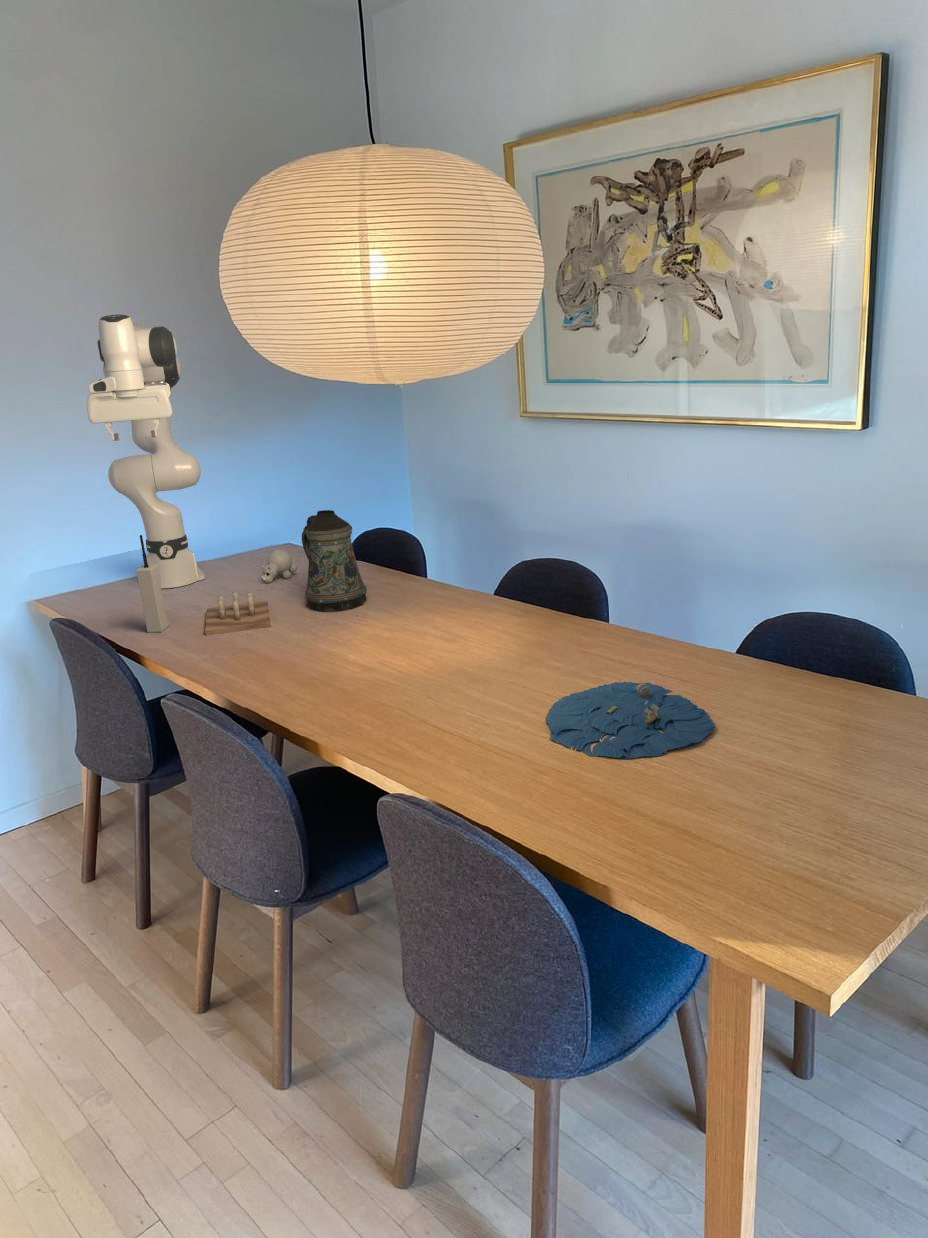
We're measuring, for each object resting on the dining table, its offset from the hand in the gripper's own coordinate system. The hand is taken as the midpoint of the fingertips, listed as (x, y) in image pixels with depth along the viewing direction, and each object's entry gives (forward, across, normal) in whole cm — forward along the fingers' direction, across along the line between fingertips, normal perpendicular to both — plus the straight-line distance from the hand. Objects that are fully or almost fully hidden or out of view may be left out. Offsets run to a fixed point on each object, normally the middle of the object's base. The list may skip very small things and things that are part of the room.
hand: (135, 438), depth 227 cm
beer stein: (+47, -44, +9) cm, 65 cm away
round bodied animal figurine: (+47, -31, -23) cm, 61 cm away
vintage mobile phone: (+47, +1, +13) cm, 49 cm away
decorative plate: (+50, -87, +107) cm, 147 cm away
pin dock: (+47, -19, +13) cm, 52 cm away
